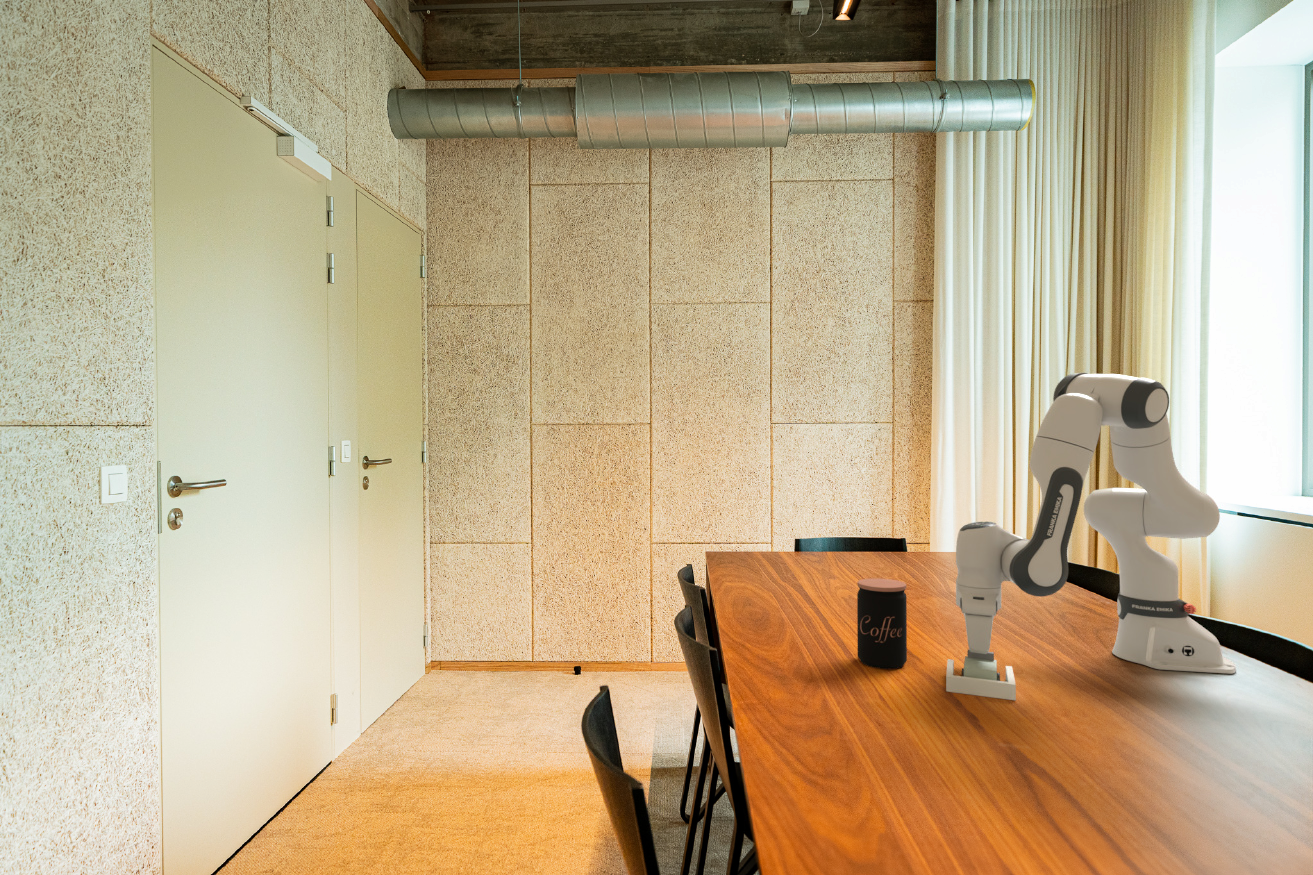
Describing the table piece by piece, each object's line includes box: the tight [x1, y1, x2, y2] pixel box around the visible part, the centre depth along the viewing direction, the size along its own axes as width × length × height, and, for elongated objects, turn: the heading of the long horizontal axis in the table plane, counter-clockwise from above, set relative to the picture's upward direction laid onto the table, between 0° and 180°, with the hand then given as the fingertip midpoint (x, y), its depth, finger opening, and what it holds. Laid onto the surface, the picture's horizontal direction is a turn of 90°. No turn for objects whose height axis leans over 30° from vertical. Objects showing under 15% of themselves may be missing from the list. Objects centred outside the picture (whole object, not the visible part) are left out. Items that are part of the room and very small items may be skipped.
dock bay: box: [945, 658, 1017, 701], centre depth 144 cm, size 12×12×3 cm
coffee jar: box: [856, 578, 908, 670], centre depth 159 cm, size 11×11×18 cm
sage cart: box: [961, 649, 1001, 681], centre depth 144 cm, size 7×8×6 cm
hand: (978, 663), depth 150 cm, fingers closed
